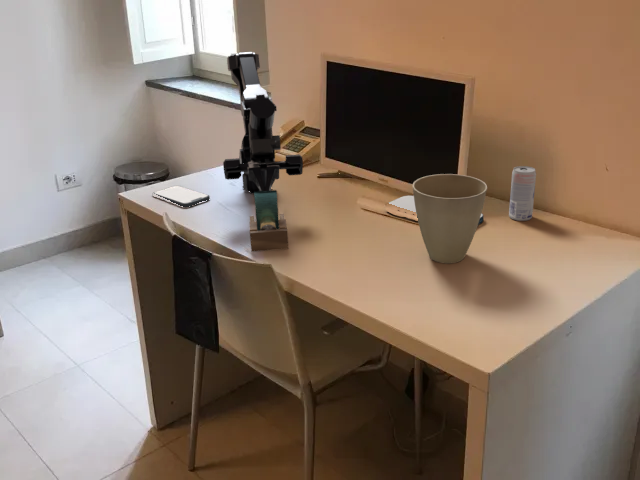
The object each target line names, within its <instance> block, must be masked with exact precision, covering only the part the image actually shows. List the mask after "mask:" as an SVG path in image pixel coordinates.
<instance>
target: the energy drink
mask: <svg viewBox="0 0 640 480" xmlns="http://www.w3.org/2000/svg"><path fill="white" fill-rule="evenodd" d="M536 177H537V172H536V168H534V167H532V166H526V165H524V166H523V165H520V166H515V167H513V170H512V173H511V184H510V186H511V187H510V197H509V209H508V217H509V218H510V219H512V220H513V221H517V222H519V221H520V222H525V221H530V220H532V218H533V212H534V198H535V189H536V180H537V178H536Z"/></svg>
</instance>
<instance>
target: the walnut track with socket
mask: <svg viewBox="0 0 640 480" xmlns="http://www.w3.org/2000/svg"><path fill="white" fill-rule="evenodd" d="M278 220H279V229H276V230H263V231H257V221H256V220H255V216H254V215H250V216H249V239H250V249H251V250H250V251H251V252H263V251H265V252H266V251H275V250H288V249H289V237H288V235H289V233H288V227H287V221H286V220H287V219H286V218H285V214H284V213H279V219H278Z"/></svg>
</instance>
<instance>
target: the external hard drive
mask: <svg viewBox="0 0 640 480" xmlns="http://www.w3.org/2000/svg"><path fill="white" fill-rule="evenodd" d="M388 203H389V204H392V205H395V206H397V207H400V208H404V209H407V210H410V211H413V212H416V208H415V202H414V195H403V196H401V197H397V198H395V199H394V200H392V201H390V202H388ZM483 222H484V214H483V212H482V213H481V216H480V220H479V223H478V226H479V225H481V224H482V223H483Z"/></svg>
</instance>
